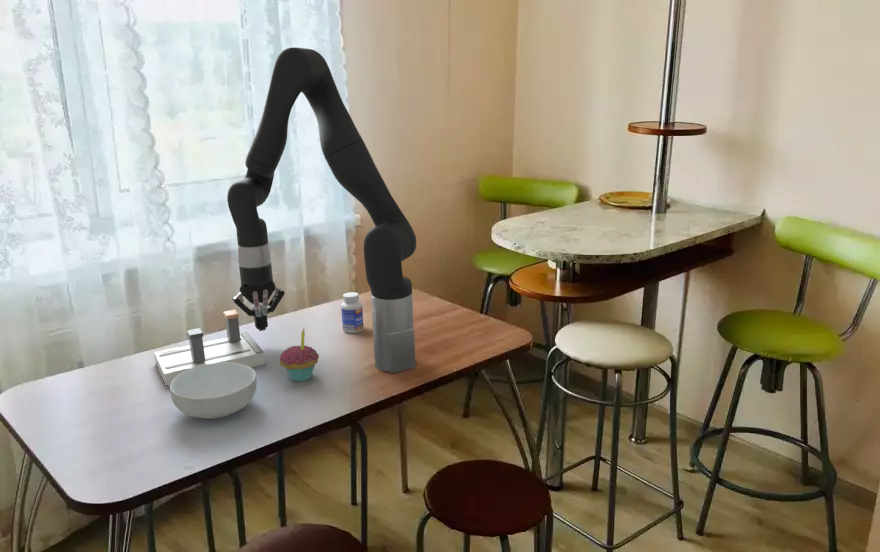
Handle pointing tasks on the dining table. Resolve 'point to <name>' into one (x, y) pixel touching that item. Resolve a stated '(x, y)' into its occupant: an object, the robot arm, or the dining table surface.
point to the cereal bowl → (213, 389)
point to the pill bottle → (352, 313)
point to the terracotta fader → (232, 325)
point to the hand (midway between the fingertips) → (261, 329)
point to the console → (209, 356)
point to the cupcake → (299, 361)
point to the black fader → (196, 345)
